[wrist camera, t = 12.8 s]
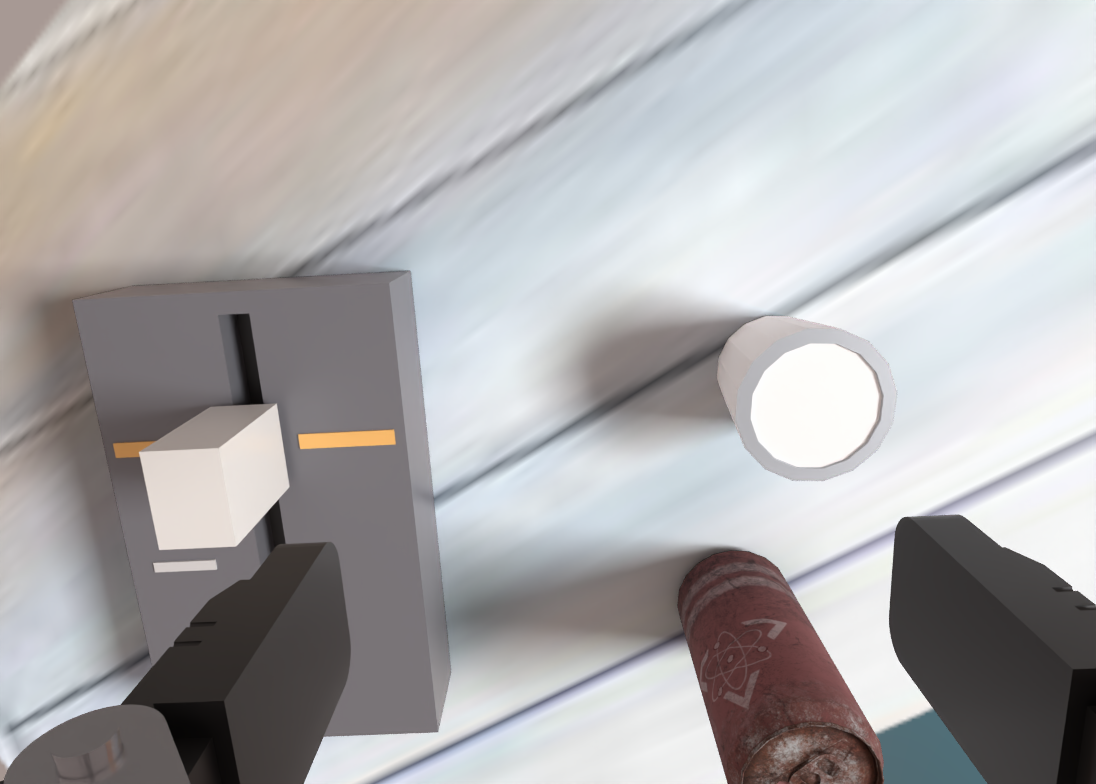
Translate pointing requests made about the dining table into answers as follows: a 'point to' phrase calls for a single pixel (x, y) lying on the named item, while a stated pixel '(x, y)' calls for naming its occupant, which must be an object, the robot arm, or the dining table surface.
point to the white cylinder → (806, 396)
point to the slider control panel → (289, 460)
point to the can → (771, 680)
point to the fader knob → (215, 476)
